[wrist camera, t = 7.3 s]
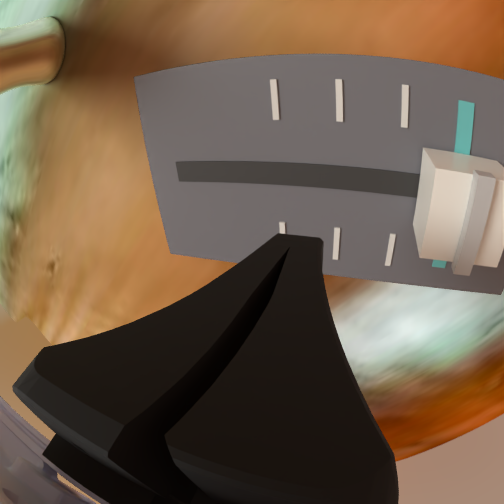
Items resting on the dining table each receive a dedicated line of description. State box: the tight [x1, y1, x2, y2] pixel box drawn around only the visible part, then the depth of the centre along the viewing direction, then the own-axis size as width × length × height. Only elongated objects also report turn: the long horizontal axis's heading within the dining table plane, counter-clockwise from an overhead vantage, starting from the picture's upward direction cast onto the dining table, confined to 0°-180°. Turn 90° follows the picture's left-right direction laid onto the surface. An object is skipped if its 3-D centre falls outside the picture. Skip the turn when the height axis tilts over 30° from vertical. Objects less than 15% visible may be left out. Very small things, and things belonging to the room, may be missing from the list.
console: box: [134, 54, 504, 295], centre depth 15 cm, size 12×22×2 cm, turn 95°
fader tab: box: [413, 147, 504, 276], centre depth 11 cm, size 4×4×4 cm
